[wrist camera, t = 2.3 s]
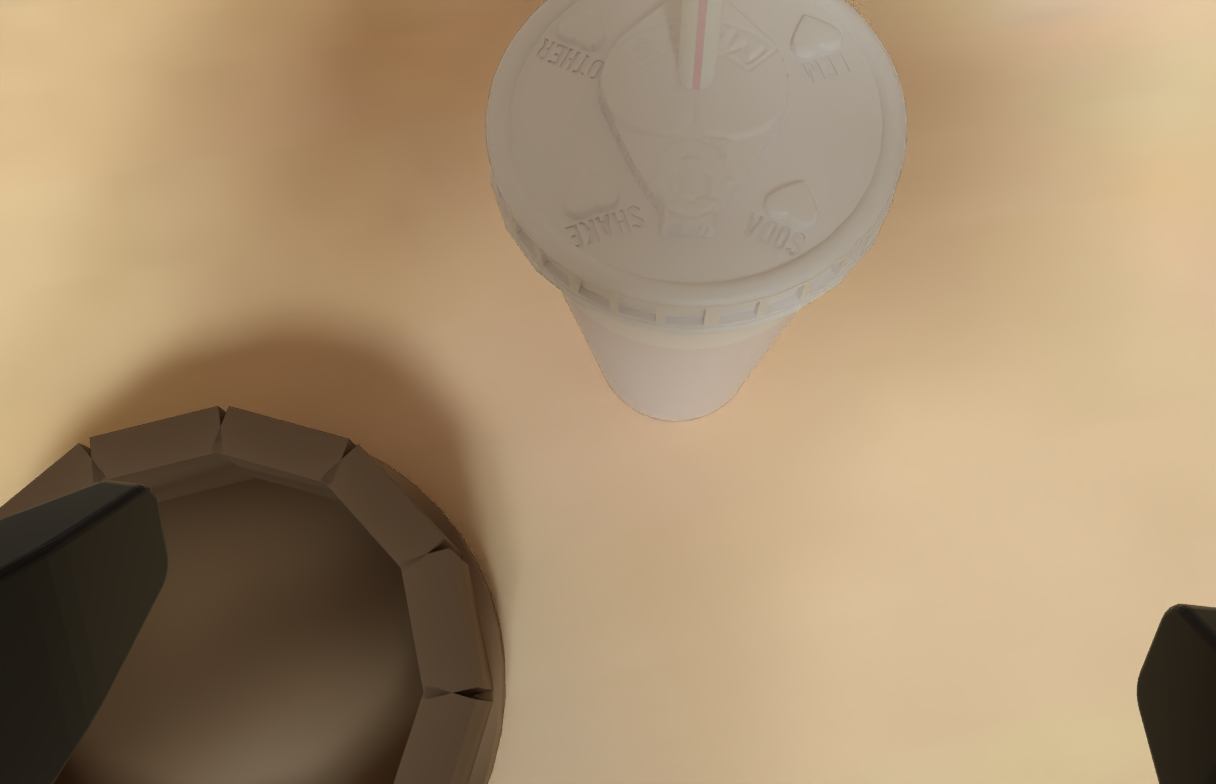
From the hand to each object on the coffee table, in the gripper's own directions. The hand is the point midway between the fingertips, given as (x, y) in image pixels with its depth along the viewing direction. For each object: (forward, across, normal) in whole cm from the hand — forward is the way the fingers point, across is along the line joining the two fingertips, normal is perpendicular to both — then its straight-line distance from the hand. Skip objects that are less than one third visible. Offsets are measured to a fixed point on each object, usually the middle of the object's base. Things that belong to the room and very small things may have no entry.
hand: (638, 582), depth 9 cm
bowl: (+8, +9, +10) cm, 16 cm away
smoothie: (+15, 0, +4) cm, 15 cm away
